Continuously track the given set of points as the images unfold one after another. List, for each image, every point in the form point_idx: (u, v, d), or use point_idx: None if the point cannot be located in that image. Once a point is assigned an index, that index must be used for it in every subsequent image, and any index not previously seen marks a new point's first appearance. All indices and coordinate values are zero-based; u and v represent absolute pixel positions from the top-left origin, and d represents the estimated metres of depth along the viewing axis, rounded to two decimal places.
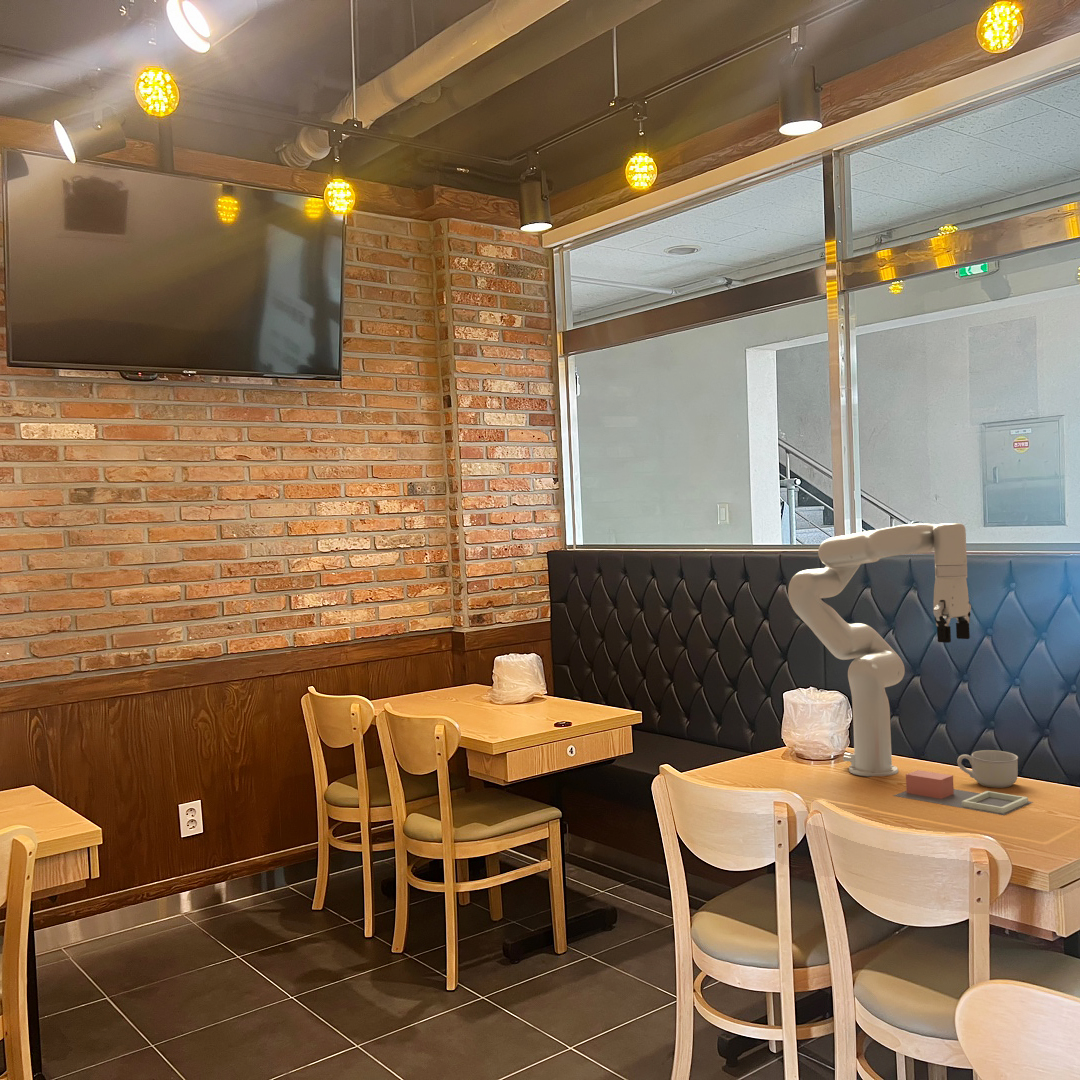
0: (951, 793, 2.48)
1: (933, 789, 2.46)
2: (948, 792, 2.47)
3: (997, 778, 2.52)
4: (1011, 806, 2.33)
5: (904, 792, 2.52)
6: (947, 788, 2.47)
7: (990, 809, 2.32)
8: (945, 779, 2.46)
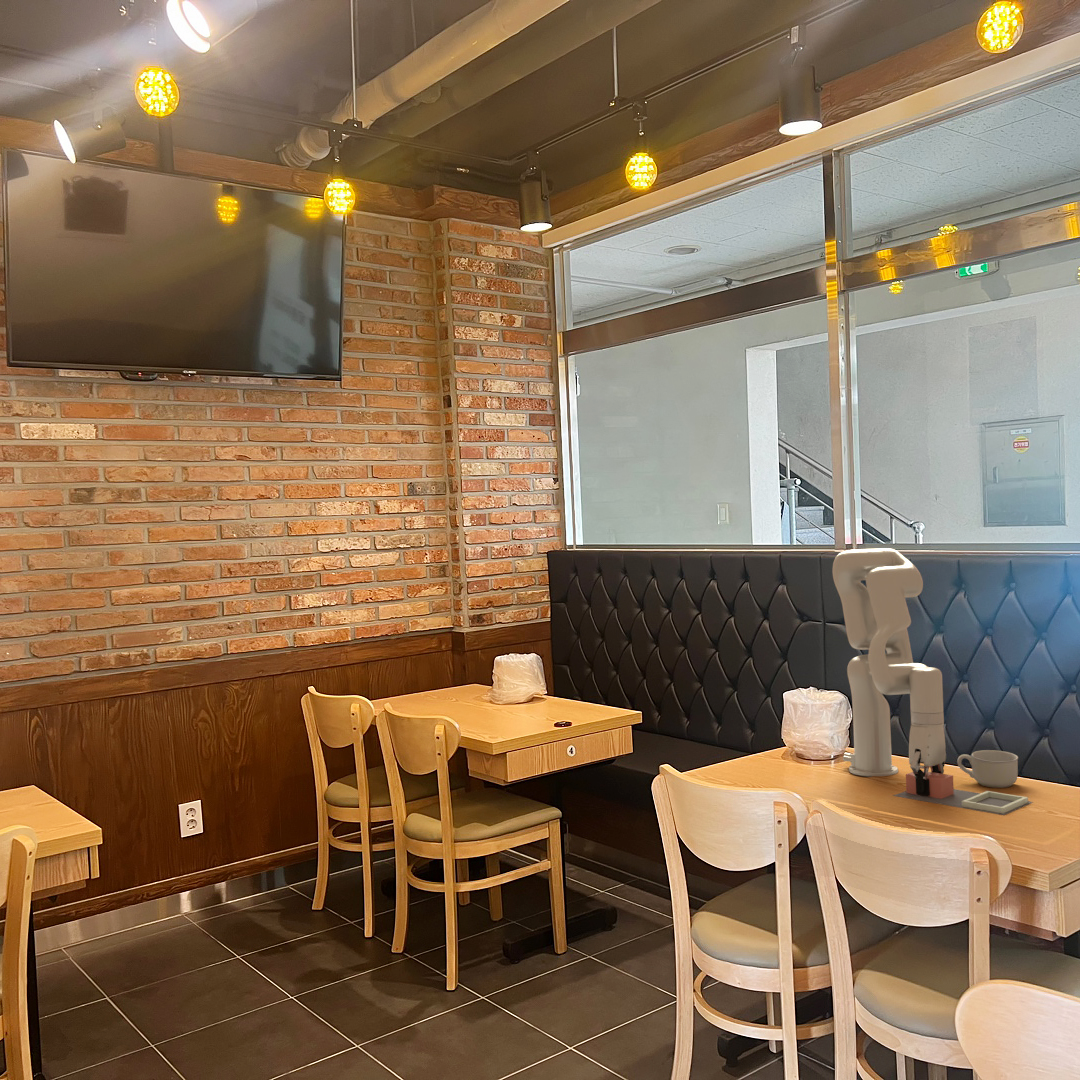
0: (951, 793, 2.48)
1: (933, 789, 2.46)
2: (948, 792, 2.47)
3: (997, 777, 2.52)
4: (1011, 806, 2.33)
5: (904, 792, 2.52)
6: (947, 788, 2.47)
7: (990, 809, 2.32)
8: (945, 779, 2.46)
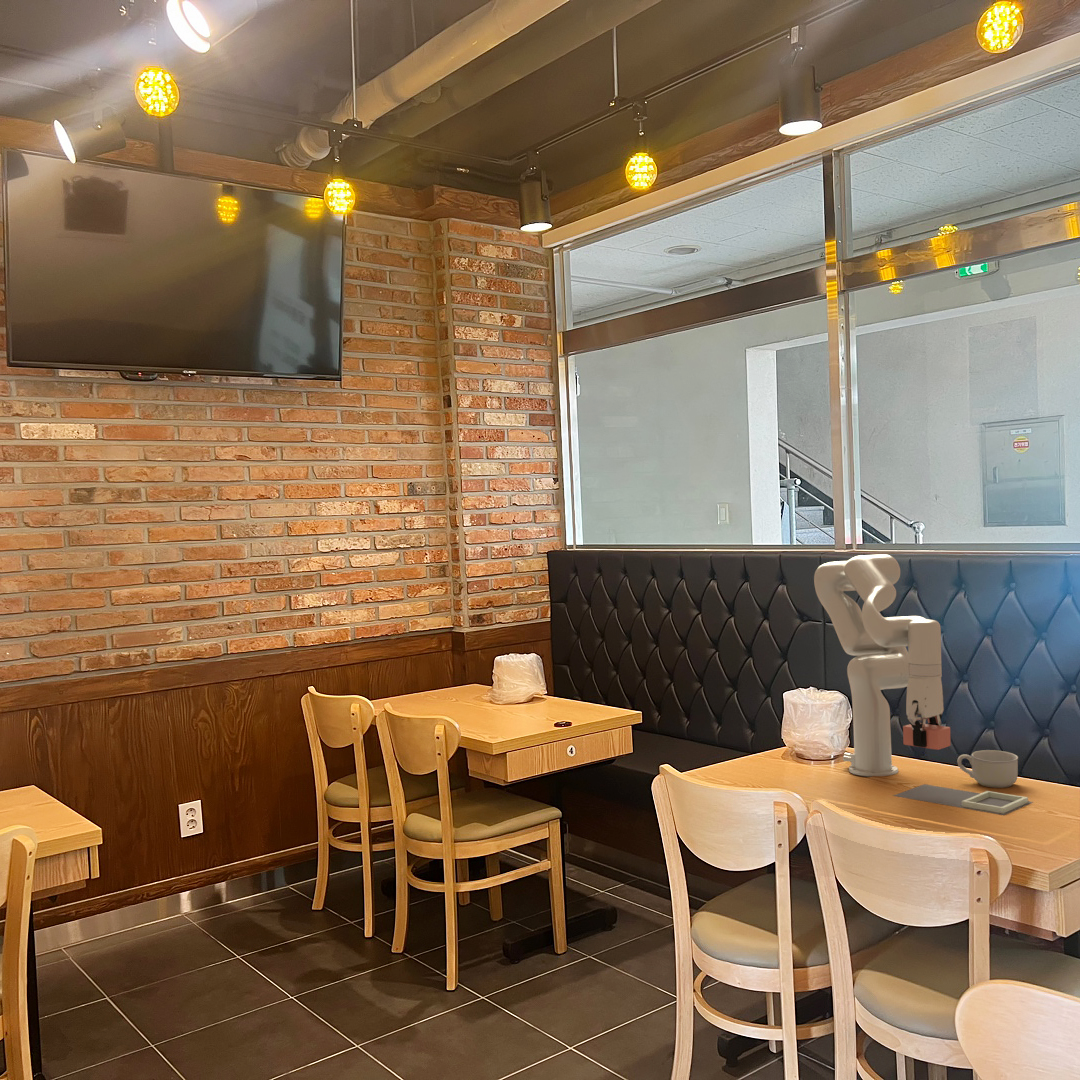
0: (948, 745, 2.48)
1: (930, 740, 2.47)
2: (945, 744, 2.47)
3: (997, 778, 2.52)
4: (1011, 806, 2.33)
5: (904, 792, 2.52)
6: (944, 740, 2.47)
7: (990, 809, 2.32)
8: (942, 730, 2.47)
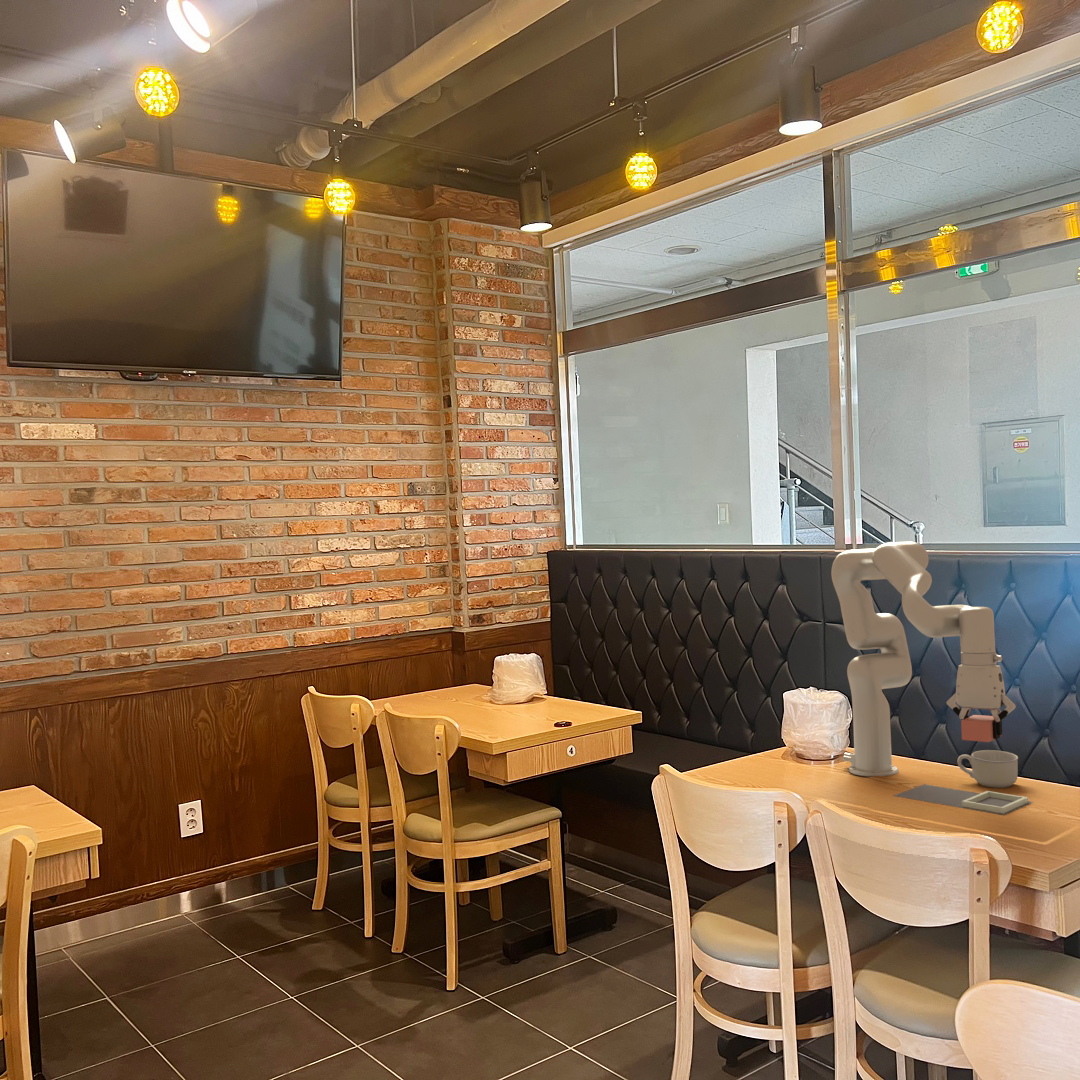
0: (983, 740, 2.35)
1: None
2: (977, 737, 2.36)
3: (997, 777, 2.52)
4: (1011, 806, 2.33)
5: (904, 792, 2.52)
6: (975, 733, 2.36)
7: (990, 809, 2.32)
8: (971, 722, 2.37)
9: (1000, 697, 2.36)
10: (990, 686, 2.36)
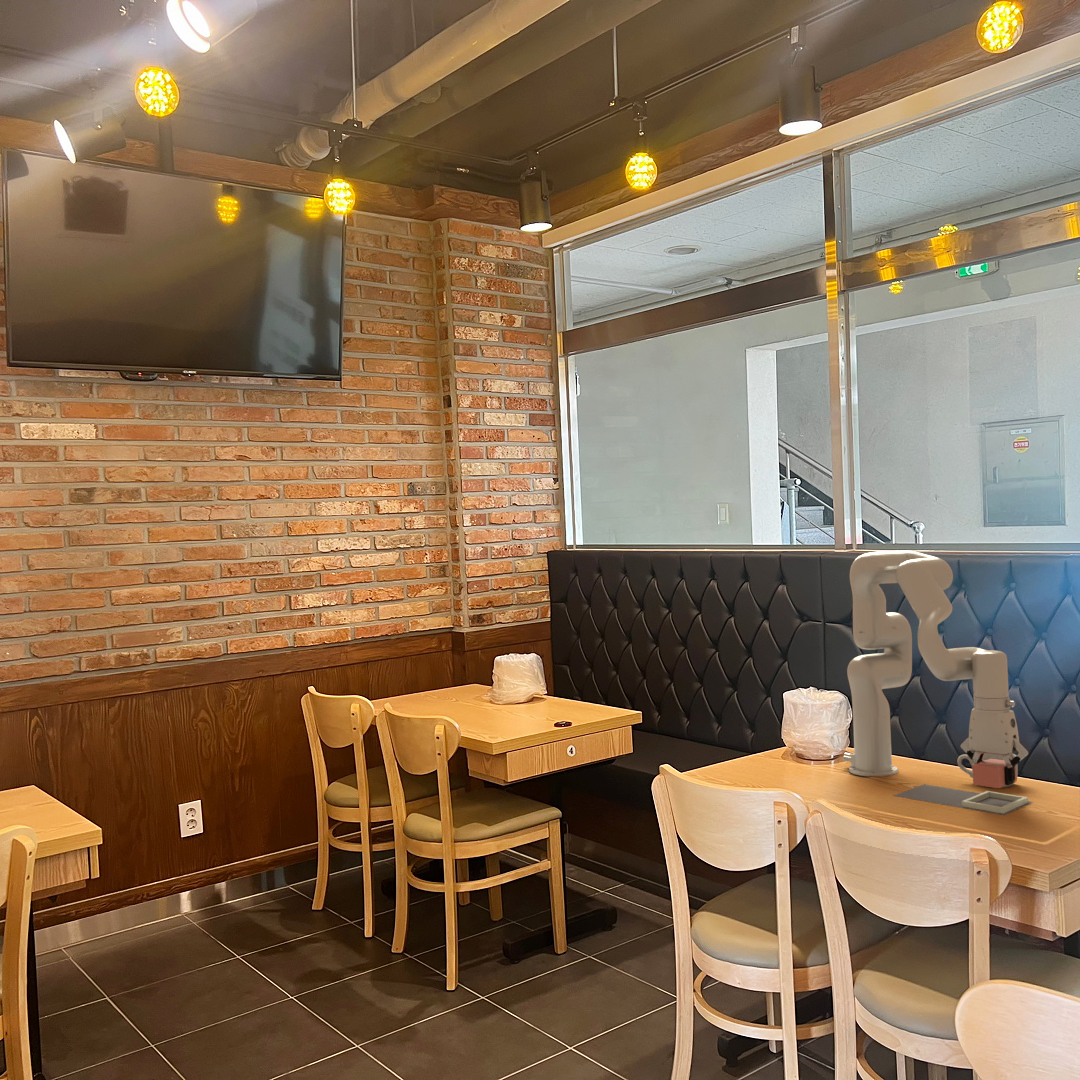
0: (994, 786, 2.33)
1: None
2: (987, 783, 2.34)
3: None
4: (1011, 806, 2.33)
5: (904, 792, 2.52)
6: (985, 778, 2.35)
7: (990, 809, 2.32)
8: (982, 767, 2.35)
9: (1012, 743, 2.33)
10: (1001, 732, 2.34)
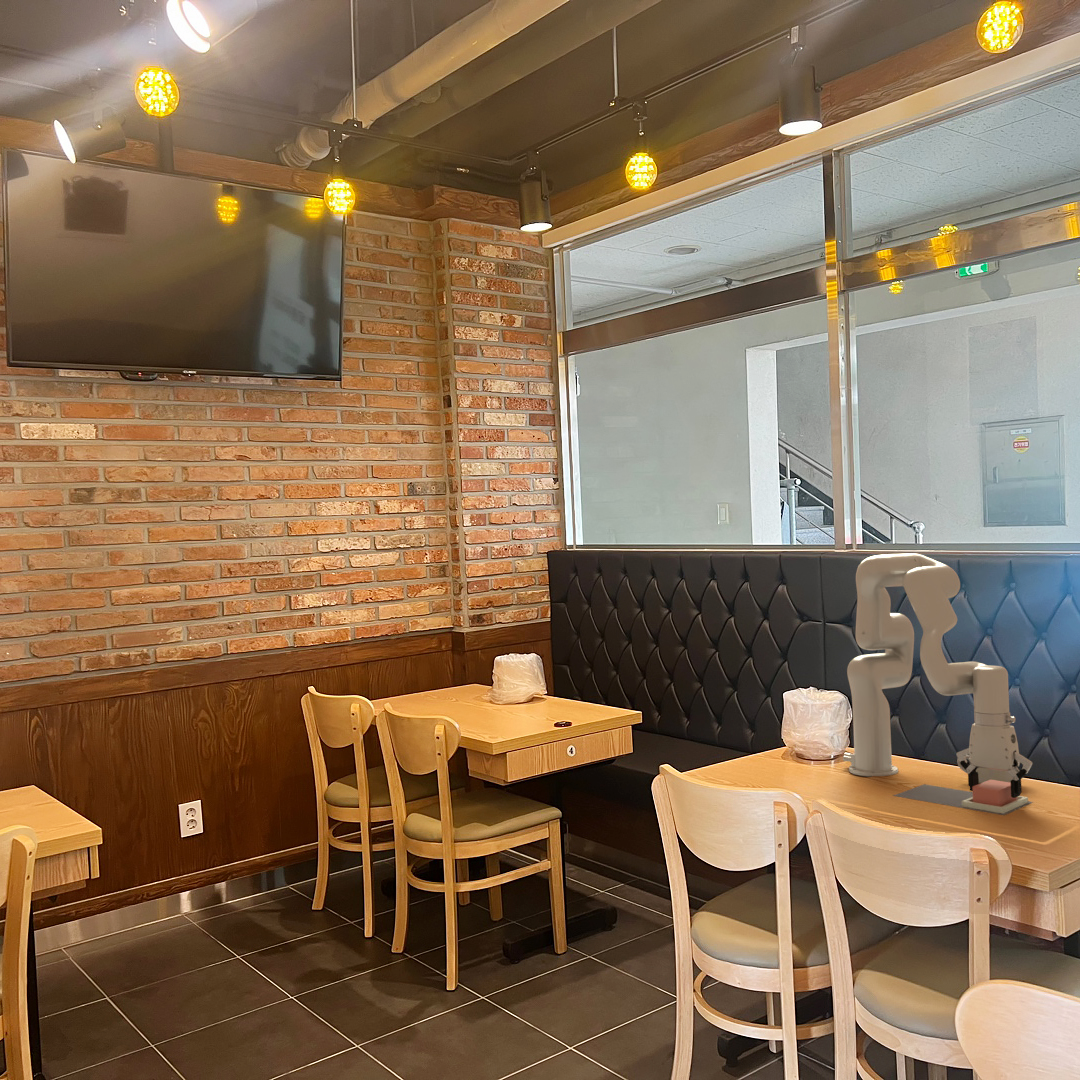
0: None
1: None
2: None
3: (997, 777, 2.52)
4: (1011, 806, 2.33)
5: (904, 792, 2.52)
6: (985, 800, 2.35)
7: (990, 809, 2.32)
8: (982, 789, 2.36)
9: (1012, 759, 2.33)
10: (1002, 747, 2.34)
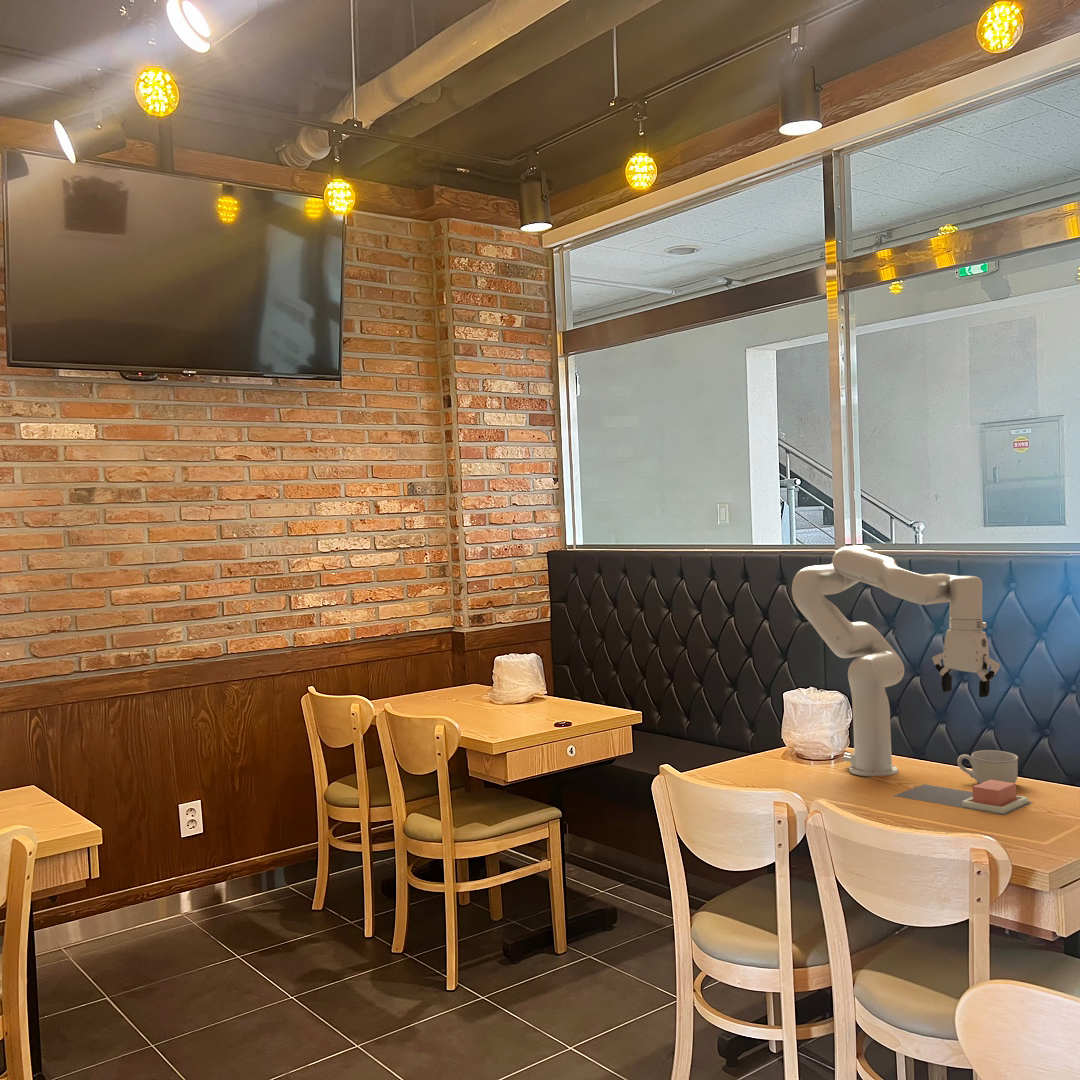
0: None
1: None
2: None
3: (997, 777, 2.52)
4: (1011, 806, 2.33)
5: (904, 792, 2.52)
6: (985, 800, 2.35)
7: (990, 809, 2.32)
8: (982, 789, 2.36)
9: (981, 661, 2.51)
10: (972, 650, 2.52)
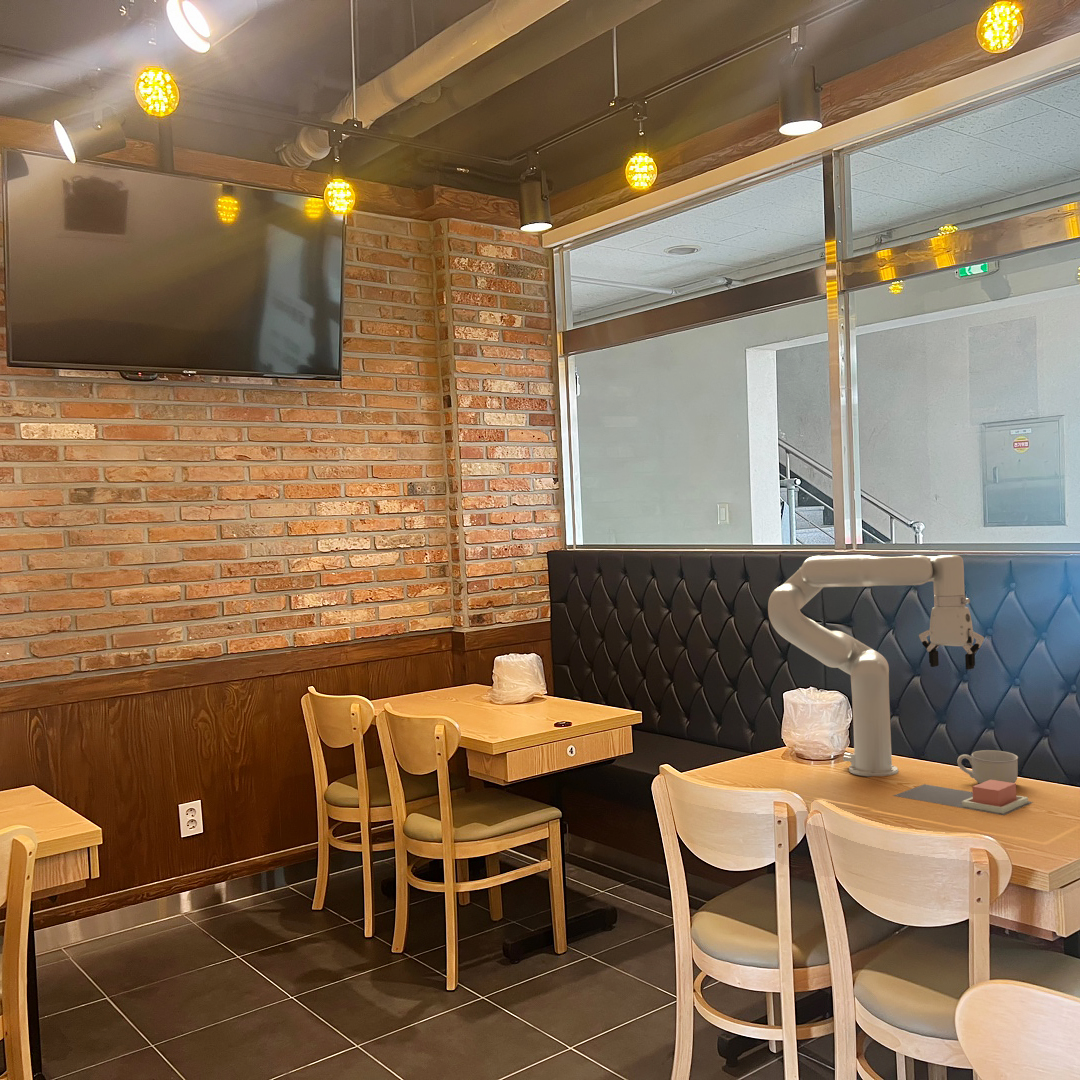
0: None
1: None
2: None
3: (997, 777, 2.52)
4: (1011, 806, 2.33)
5: (904, 792, 2.52)
6: (985, 800, 2.35)
7: (990, 809, 2.32)
8: (982, 789, 2.36)
9: (966, 635, 2.64)
10: (957, 625, 2.65)
